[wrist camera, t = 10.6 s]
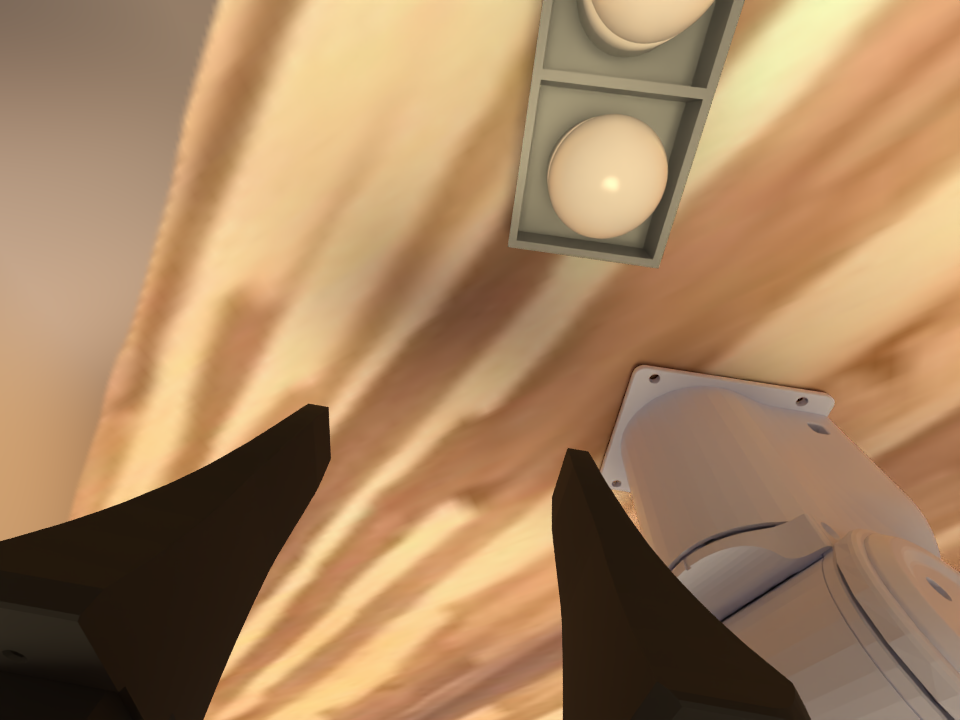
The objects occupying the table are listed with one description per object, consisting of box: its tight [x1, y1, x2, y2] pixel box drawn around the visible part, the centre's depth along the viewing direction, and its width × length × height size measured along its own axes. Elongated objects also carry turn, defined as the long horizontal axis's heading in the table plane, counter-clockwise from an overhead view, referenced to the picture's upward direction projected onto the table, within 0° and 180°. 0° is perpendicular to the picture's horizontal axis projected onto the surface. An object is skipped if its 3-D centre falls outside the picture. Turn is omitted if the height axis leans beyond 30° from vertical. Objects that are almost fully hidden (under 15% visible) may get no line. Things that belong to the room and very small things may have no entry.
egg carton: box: [508, 0, 745, 268], centre depth 15 cm, size 6×12×2 cm, turn 174°
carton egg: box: [547, 114, 668, 239], centre depth 15 cm, size 4×4×5 cm
